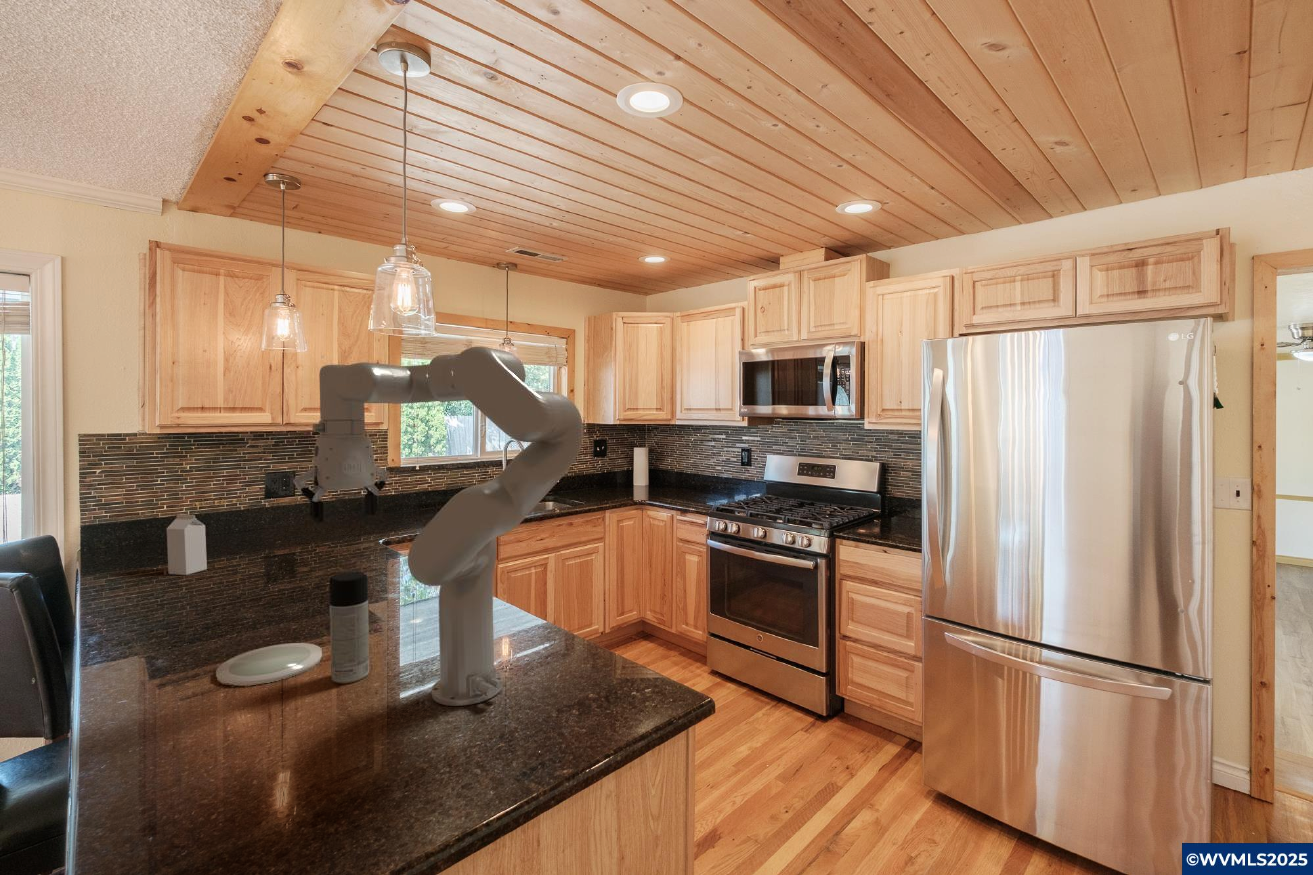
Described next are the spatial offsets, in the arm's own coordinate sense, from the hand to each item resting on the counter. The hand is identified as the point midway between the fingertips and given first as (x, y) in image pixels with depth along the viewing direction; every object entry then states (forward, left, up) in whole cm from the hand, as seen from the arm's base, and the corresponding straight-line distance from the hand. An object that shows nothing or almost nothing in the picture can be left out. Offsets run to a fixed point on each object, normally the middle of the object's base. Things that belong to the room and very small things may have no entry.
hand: (345, 518), depth 113 cm
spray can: (0, 0, -31) cm, 31 cm away
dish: (+18, +8, -31) cm, 37 cm away
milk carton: (+123, -1, -31) cm, 127 cm away
